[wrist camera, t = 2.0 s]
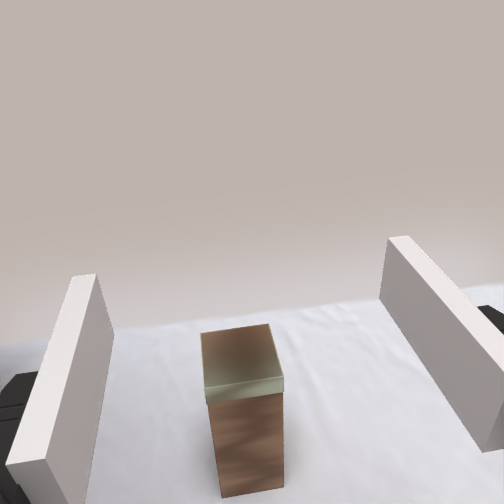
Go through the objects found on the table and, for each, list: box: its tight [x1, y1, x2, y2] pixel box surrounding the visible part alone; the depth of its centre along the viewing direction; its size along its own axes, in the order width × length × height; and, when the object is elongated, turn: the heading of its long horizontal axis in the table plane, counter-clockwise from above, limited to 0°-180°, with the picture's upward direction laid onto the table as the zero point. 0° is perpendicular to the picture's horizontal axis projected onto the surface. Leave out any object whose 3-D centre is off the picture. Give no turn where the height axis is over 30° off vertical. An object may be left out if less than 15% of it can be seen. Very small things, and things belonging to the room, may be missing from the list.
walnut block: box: [200, 324, 284, 498], centre depth 32 cm, size 5×5×13 cm
